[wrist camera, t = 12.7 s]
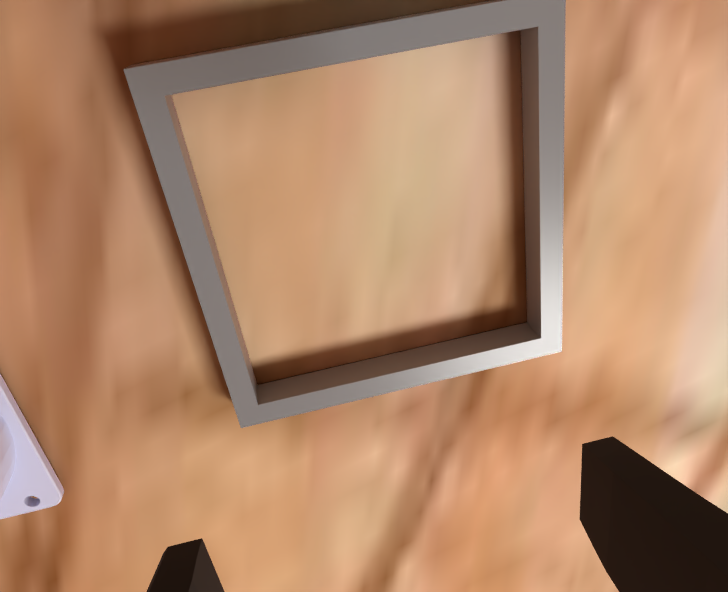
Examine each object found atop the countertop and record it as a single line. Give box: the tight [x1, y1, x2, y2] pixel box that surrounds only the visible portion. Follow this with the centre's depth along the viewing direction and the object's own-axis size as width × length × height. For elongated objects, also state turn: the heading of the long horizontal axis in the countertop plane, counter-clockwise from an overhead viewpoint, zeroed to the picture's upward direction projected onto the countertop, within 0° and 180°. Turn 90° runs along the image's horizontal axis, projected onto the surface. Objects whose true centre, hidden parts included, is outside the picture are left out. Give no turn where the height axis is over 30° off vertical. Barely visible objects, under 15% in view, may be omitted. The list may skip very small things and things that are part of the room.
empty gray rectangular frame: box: [123, 0, 566, 428], centre depth 19 cm, size 12×12×1 cm
